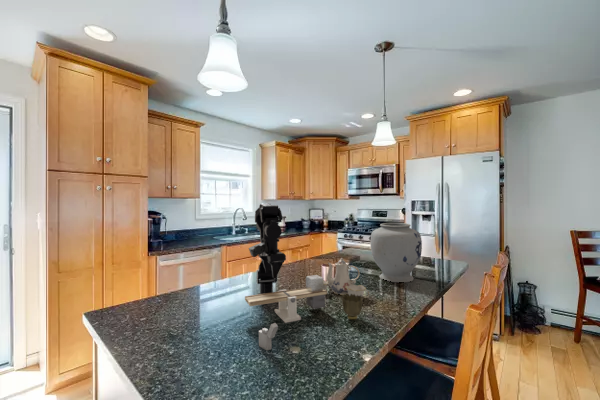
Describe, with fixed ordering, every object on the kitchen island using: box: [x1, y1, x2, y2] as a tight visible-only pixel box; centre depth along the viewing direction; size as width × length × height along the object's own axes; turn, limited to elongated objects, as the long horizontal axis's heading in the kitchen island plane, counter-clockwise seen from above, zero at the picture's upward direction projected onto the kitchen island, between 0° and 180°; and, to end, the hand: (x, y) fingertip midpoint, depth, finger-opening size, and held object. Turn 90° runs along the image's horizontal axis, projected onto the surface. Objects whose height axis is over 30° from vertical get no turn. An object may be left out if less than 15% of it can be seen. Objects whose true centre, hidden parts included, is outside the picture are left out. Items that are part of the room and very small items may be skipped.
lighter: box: [258, 322, 279, 351], centre depth 83 cm, size 7×2×8 cm, turn 45°
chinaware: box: [323, 257, 370, 298], centre depth 131 cm, size 28×17×17 cm, turn 67°
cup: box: [341, 294, 364, 321], centre depth 103 cm, size 8×7×8 cm
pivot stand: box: [274, 288, 302, 324], centre depth 107 cm, size 12×6×8 cm, turn 25°
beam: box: [244, 287, 328, 310], centre depth 107 cm, size 7×30×6 cm, turn 115°
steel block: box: [305, 274, 324, 293], centre depth 112 cm, size 5×5×5 cm
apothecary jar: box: [370, 222, 423, 283], centre depth 157 cm, size 27×27×30 cm
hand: (270, 275), depth 115 cm, fingers open, 9 cm apart
